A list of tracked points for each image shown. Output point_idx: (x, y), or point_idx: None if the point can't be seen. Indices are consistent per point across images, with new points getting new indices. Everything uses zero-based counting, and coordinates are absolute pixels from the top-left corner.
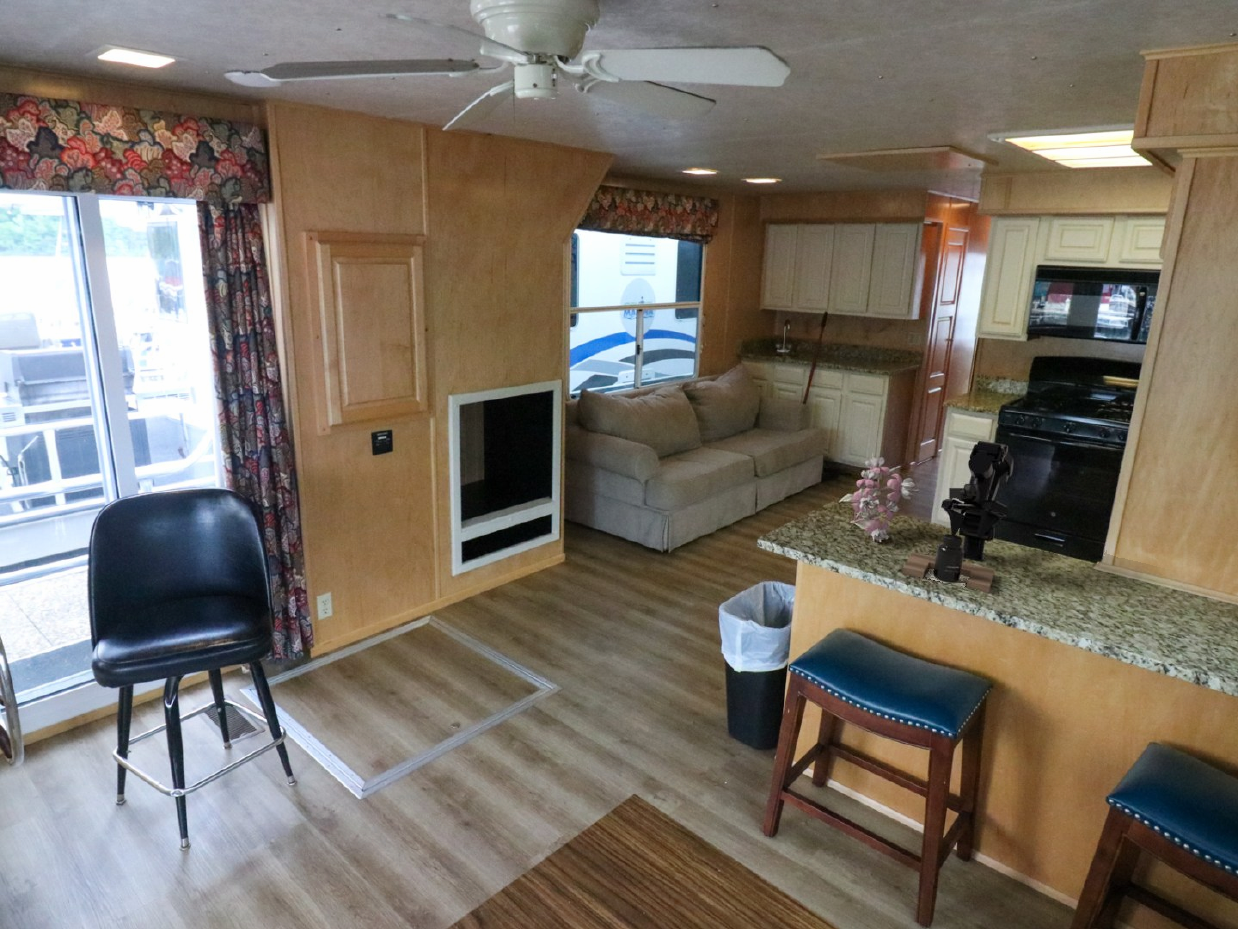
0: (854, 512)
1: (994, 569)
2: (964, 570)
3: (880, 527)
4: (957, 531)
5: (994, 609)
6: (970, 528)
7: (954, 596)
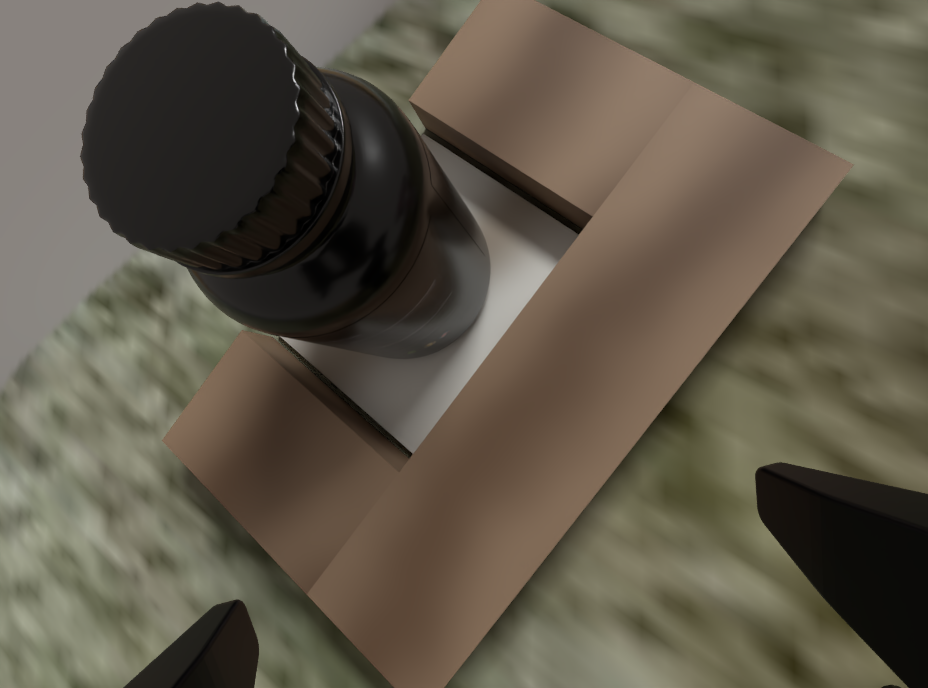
0: None
1: None
2: (429, 433)
3: None
4: (824, 597)
5: (44, 342)
6: None
7: None
